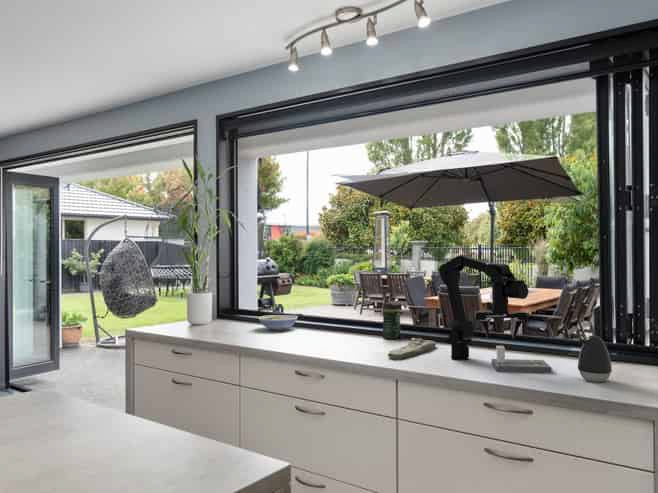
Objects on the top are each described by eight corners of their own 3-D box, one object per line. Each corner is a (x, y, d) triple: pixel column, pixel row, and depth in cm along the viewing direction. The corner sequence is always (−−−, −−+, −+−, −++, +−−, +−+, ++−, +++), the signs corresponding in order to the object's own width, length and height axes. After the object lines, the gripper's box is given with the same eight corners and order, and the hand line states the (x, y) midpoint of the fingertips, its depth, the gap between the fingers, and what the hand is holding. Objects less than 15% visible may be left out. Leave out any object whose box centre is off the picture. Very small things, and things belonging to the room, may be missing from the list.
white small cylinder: (497, 362, 188) (497, 347, 188) (496, 360, 192) (496, 345, 192) (505, 363, 187) (504, 347, 187) (503, 360, 191) (503, 345, 191)
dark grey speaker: (571, 377, 174) (570, 333, 175) (599, 376, 175) (598, 332, 175) (588, 385, 164) (587, 338, 164) (618, 383, 165) (618, 337, 165)
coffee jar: (394, 340, 250) (393, 302, 250) (380, 338, 255) (379, 302, 255) (403, 337, 258) (402, 301, 258) (390, 335, 263) (389, 300, 263)
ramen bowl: (251, 332, 280) (251, 318, 280) (263, 326, 302) (263, 312, 302) (295, 333, 275) (294, 318, 276) (303, 327, 298) (303, 313, 298)
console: (496, 371, 184) (496, 365, 184) (491, 364, 196) (491, 358, 196) (551, 372, 181) (551, 366, 181) (543, 365, 193) (543, 359, 193)
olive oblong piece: (381, 362, 210) (402, 366, 204) (381, 349, 209) (402, 353, 203) (421, 344, 237) (441, 347, 231) (421, 333, 237) (441, 336, 231)
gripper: (521, 295, 196) (522, 335, 196) (472, 295, 199) (472, 334, 199) (527, 297, 185) (528, 340, 185) (475, 297, 188) (476, 339, 188)
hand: (500, 338), depth 190 cm, fingers open, 9 cm apart
